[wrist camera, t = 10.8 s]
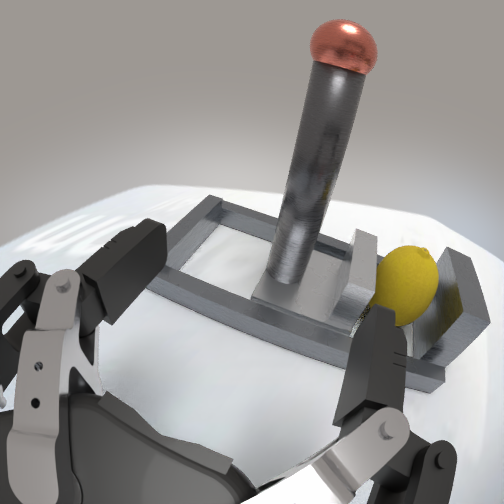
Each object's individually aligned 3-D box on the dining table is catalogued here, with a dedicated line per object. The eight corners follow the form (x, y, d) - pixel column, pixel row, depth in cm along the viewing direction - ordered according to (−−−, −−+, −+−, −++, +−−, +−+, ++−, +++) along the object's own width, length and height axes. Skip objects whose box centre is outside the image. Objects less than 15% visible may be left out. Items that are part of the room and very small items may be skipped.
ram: (356, 276, 27) (438, 62, 13) (345, 341, 21) (475, 58, 7) (274, 246, 28) (325, 24, 15) (243, 303, 22) (302, -2, 9)
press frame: (432, 293, 27) (465, 244, 22) (439, 395, 17) (496, 347, 13) (213, 213, 32) (218, 154, 27) (143, 286, 22) (133, 214, 18)
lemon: (350, 291, 25) (385, 220, 20) (399, 299, 25) (439, 235, 20) (357, 341, 21) (406, 269, 16) (412, 346, 21) (464, 282, 16)
